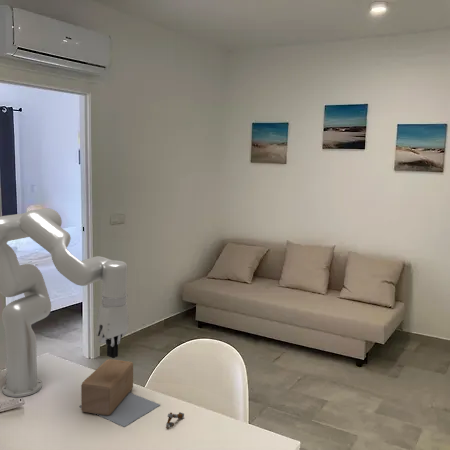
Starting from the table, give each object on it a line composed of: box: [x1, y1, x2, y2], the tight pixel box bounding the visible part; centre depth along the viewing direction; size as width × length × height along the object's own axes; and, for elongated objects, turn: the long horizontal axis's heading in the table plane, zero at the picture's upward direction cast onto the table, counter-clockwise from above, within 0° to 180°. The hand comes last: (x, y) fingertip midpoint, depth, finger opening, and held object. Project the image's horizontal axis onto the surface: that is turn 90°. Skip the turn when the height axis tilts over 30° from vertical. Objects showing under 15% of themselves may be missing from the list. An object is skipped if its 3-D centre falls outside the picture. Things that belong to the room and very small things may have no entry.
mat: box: [79, 391, 161, 428], centre depth 163 cm, size 20×16×1 cm
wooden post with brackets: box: [165, 411, 185, 429], centre depth 153 cm, size 2×8×4 cm, turn 151°
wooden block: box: [80, 358, 134, 415], centre depth 165 cm, size 10×10×20 cm
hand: (112, 356), depth 158 cm, fingers closed
